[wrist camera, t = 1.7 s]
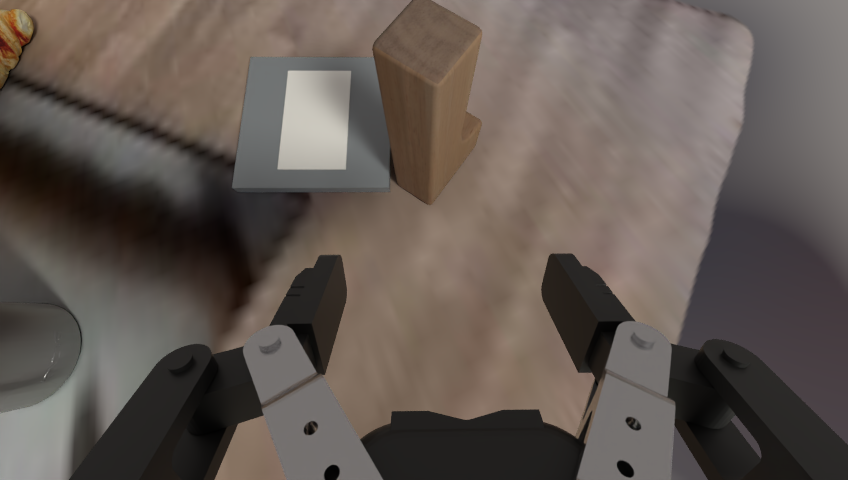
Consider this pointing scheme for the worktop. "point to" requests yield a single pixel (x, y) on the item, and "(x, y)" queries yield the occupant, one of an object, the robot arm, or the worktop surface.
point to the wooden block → (428, 94)
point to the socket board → (312, 127)
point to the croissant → (12, 39)
